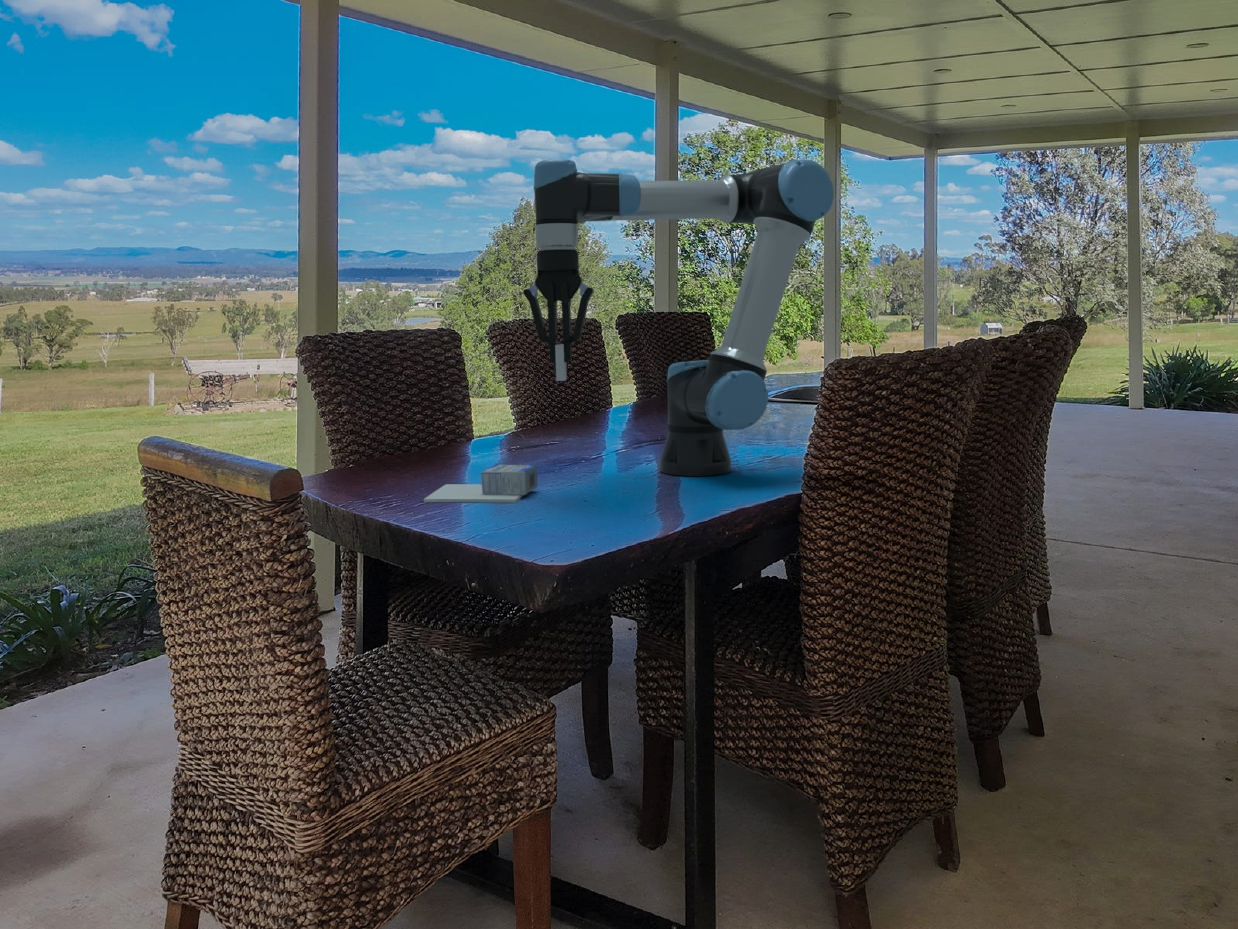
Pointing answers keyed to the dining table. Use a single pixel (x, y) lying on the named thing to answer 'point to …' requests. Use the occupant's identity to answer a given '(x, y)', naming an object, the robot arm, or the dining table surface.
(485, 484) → the medicine box
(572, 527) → the dining table surface
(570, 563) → the dining table surface
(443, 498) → the mat
